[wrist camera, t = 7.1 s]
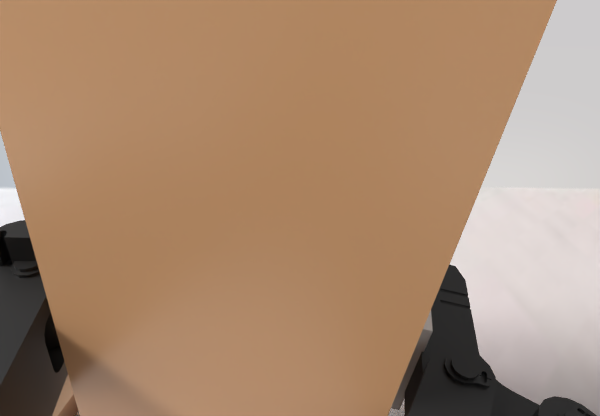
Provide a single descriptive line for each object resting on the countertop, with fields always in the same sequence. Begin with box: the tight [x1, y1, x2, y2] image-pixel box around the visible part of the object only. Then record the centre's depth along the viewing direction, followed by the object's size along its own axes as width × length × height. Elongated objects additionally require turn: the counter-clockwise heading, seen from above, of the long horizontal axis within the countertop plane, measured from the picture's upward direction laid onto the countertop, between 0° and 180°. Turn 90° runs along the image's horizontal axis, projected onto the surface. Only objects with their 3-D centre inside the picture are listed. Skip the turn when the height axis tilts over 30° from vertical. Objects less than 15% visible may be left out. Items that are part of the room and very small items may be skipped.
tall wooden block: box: [0, 0, 557, 416], centre depth 11 cm, size 6×6×18 cm
